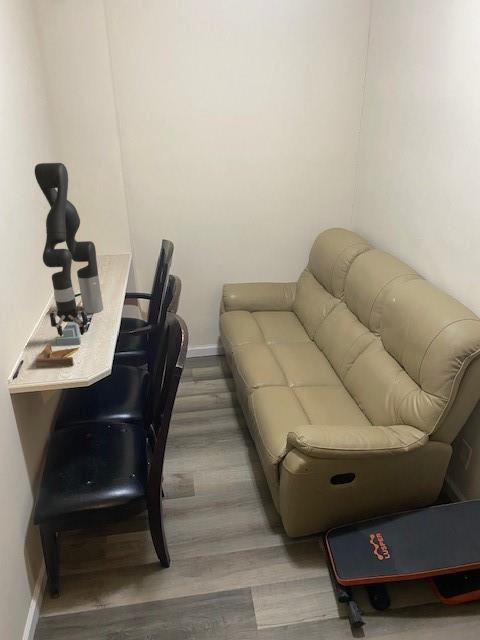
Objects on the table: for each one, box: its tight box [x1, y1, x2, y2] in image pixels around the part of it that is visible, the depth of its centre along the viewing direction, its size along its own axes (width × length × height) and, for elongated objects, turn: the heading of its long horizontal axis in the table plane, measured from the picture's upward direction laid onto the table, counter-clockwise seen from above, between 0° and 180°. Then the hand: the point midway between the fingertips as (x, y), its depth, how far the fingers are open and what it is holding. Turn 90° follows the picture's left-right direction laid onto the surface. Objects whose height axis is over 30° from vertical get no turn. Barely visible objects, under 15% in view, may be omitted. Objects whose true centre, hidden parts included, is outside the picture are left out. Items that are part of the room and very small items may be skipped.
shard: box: [48, 347, 80, 358], centre depth 181 cm, size 11×8×2 cm
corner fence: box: [35, 344, 75, 369], centre depth 178 cm, size 13×13×3 cm
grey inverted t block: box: [56, 321, 82, 347], centre depth 193 cm, size 10×9×6 cm
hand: (71, 334), depth 194 cm, fingers open, 8 cm apart
